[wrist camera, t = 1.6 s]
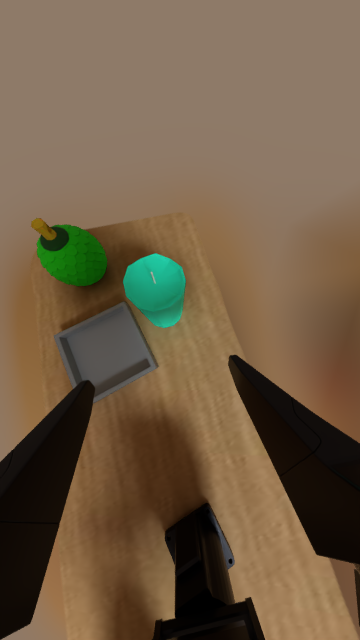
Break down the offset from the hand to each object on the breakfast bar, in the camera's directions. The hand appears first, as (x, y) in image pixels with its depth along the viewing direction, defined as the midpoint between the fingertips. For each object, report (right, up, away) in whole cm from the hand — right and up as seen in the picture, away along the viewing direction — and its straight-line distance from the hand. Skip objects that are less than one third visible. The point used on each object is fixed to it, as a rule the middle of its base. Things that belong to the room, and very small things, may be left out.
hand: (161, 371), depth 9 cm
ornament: (-14, +12, +16) cm, 24 cm away
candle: (-1, +5, +15) cm, 16 cm away
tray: (-10, -2, +13) cm, 16 cm away
